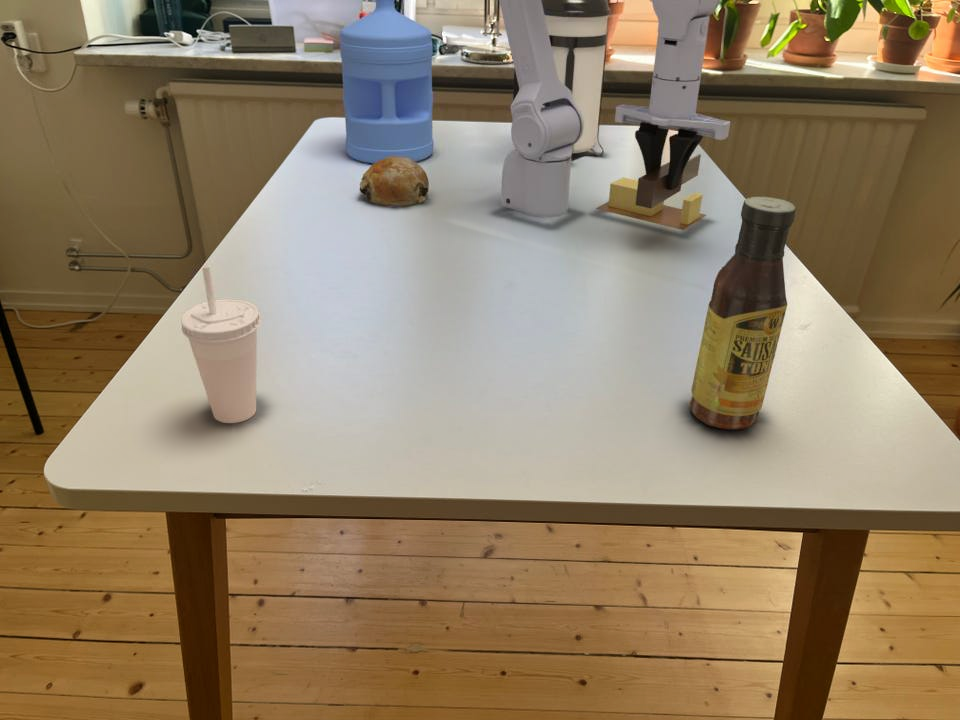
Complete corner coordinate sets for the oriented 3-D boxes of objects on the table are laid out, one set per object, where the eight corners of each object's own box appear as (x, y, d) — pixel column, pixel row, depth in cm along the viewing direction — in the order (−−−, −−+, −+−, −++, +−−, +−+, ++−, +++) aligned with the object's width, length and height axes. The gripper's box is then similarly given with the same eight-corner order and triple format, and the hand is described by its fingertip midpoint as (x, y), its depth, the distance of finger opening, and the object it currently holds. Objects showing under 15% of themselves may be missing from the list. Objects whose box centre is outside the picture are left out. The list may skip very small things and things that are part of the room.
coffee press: (519, 141, 157) (527, -32, 142) (603, 145, 155) (620, -29, 140) (510, 166, 142) (517, -24, 127) (602, 171, 140) (621, -21, 125)
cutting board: (594, 214, 121) (595, 208, 120) (620, 201, 127) (621, 195, 126) (682, 236, 114) (683, 229, 113) (705, 221, 119) (706, 214, 119)
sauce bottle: (720, 441, 71) (764, 222, 61) (673, 406, 75) (707, 197, 66) (776, 422, 73) (826, 210, 64) (727, 389, 78) (767, 187, 68)
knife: (635, 205, 104) (638, 178, 102) (689, 173, 116) (693, 149, 114) (651, 208, 103) (654, 181, 101) (704, 176, 115) (708, 152, 113)
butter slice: (679, 223, 116) (683, 199, 114) (691, 216, 118) (694, 192, 117) (687, 225, 115) (691, 201, 113) (699, 217, 118) (702, 194, 116)
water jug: (347, 142, 153) (337, -22, 140) (431, 142, 155) (429, -21, 141) (344, 166, 140) (333, -13, 126) (436, 165, 141) (435, -12, 128)
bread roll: (406, 232, 123) (428, 187, 119) (346, 198, 122) (365, 152, 118) (423, 211, 131) (444, 168, 127) (367, 179, 131) (386, 135, 127)
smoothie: (205, 393, 76) (181, 252, 69) (276, 391, 76) (259, 251, 69) (190, 433, 70) (162, 283, 63) (266, 430, 71) (246, 282, 64)
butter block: (608, 206, 121) (610, 183, 120) (620, 199, 124) (623, 177, 122) (650, 216, 118) (653, 193, 116) (663, 209, 121) (666, 186, 119)
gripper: (608, 74, 100) (597, 182, 107) (721, 90, 93) (702, 205, 100) (634, 66, 105) (622, 170, 112) (743, 81, 98) (724, 191, 105)
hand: (662, 186), depth 106 cm, fingers closed on knife, 2 cm apart
